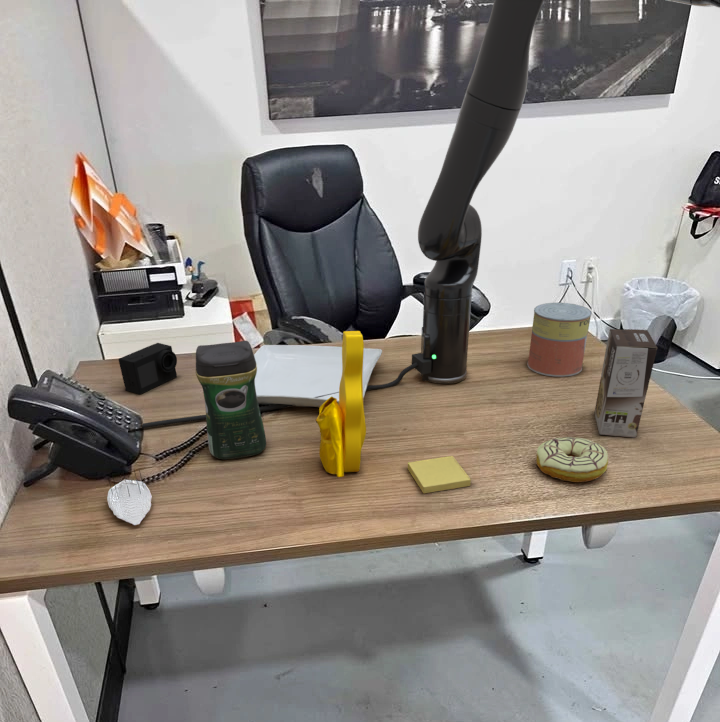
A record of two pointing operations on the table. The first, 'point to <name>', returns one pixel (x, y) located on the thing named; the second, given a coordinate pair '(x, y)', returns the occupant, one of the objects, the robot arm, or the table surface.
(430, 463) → the sticky note pad
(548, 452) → the decorated donut
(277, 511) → the table surface
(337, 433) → the figure statuette
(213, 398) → the coffee jar
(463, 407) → the table surface
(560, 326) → the canned food
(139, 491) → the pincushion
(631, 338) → the coffee box
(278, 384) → the square plate
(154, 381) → the digital camera
